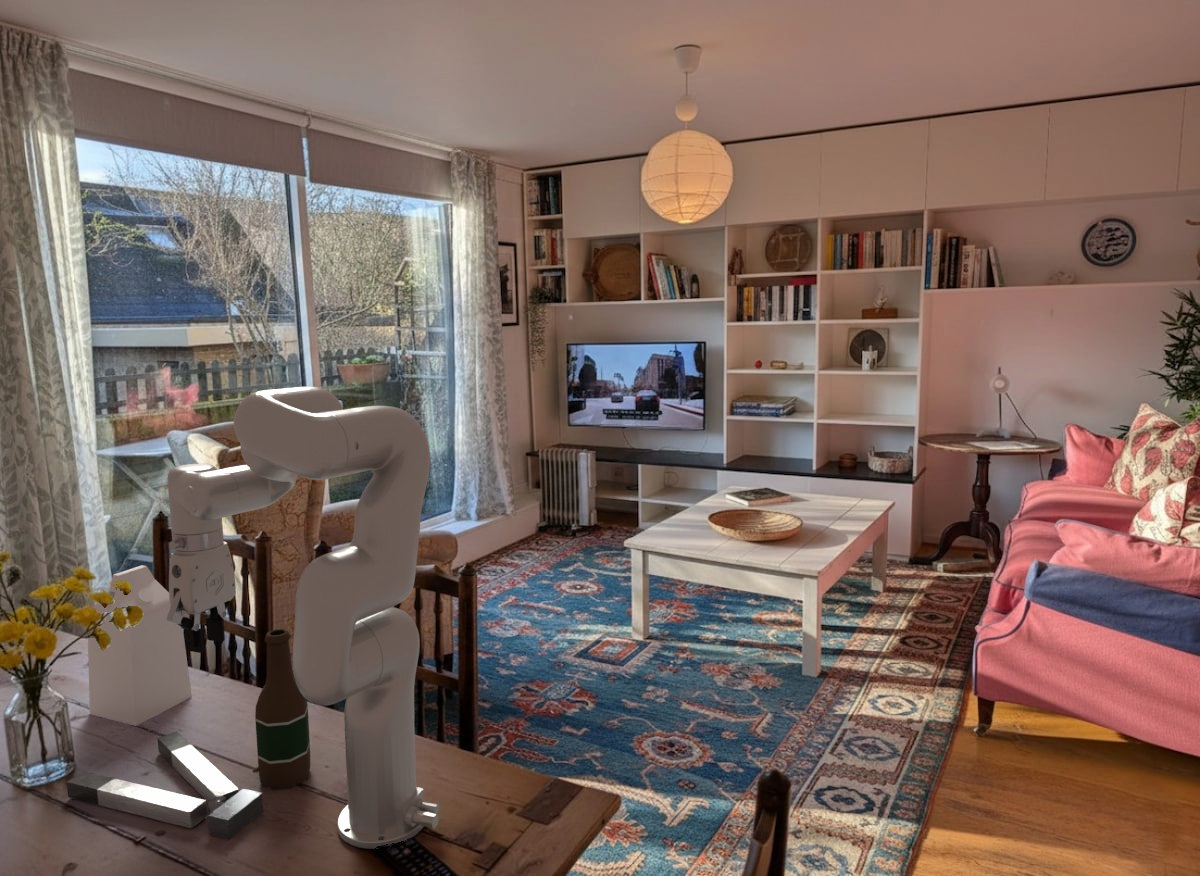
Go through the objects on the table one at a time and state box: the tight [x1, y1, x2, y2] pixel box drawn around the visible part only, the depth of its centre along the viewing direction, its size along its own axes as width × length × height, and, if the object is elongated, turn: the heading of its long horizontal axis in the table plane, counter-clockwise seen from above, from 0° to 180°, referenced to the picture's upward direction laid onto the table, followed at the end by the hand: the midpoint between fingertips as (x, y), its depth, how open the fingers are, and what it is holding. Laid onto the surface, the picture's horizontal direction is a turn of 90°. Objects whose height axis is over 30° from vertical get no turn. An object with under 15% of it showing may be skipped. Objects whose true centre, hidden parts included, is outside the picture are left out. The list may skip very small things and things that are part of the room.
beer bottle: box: [254, 628, 311, 791], centre depth 127 cm, size 8×8×24 cm
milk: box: [87, 564, 193, 727], centre depth 150 cm, size 12×12×26 cm
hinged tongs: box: [66, 771, 264, 841], centre depth 121 cm, size 30×7×3 cm, turn 72°
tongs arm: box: [157, 730, 239, 815], centre depth 127 cm, size 26×5×2 cm, turn 47°
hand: (205, 644), depth 137 cm, fingers open, 3 cm apart
